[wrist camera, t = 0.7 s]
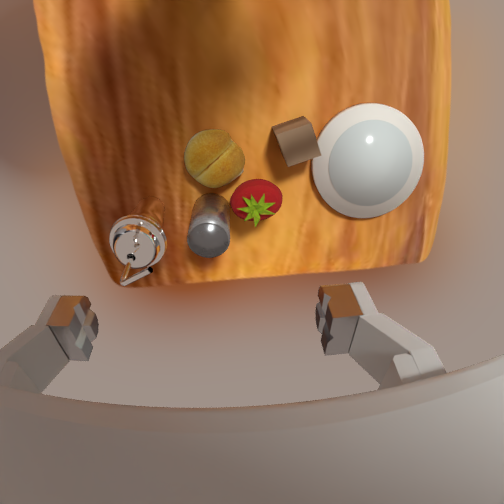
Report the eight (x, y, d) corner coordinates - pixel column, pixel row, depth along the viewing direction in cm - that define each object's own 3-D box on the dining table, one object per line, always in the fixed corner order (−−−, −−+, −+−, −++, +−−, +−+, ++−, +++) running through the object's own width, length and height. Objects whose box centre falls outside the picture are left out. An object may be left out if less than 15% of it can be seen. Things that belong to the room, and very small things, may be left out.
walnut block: (271, 126, 45) (276, 134, 40) (303, 115, 44) (311, 123, 40) (282, 155, 47) (288, 167, 43) (313, 145, 47) (321, 155, 42)
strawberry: (279, 197, 51) (289, 230, 43) (234, 206, 52) (235, 239, 44) (274, 164, 48) (284, 190, 40) (226, 172, 48) (225, 201, 40)
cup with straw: (121, 189, 48) (75, 264, 32) (174, 180, 48) (146, 256, 32) (134, 233, 53) (101, 316, 37) (184, 226, 53) (166, 313, 37)
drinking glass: (191, 194, 50) (184, 224, 43) (228, 192, 50) (228, 221, 43) (195, 226, 54) (189, 259, 46) (230, 224, 54) (231, 257, 46)
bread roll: (214, 117, 43) (214, 123, 39) (252, 160, 47) (255, 170, 44) (172, 153, 45) (168, 162, 42) (211, 192, 50) (211, 204, 47)
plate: (314, 98, 42) (316, 99, 41) (427, 110, 43) (432, 112, 42) (307, 216, 54) (309, 220, 53) (409, 214, 54) (412, 217, 53)
